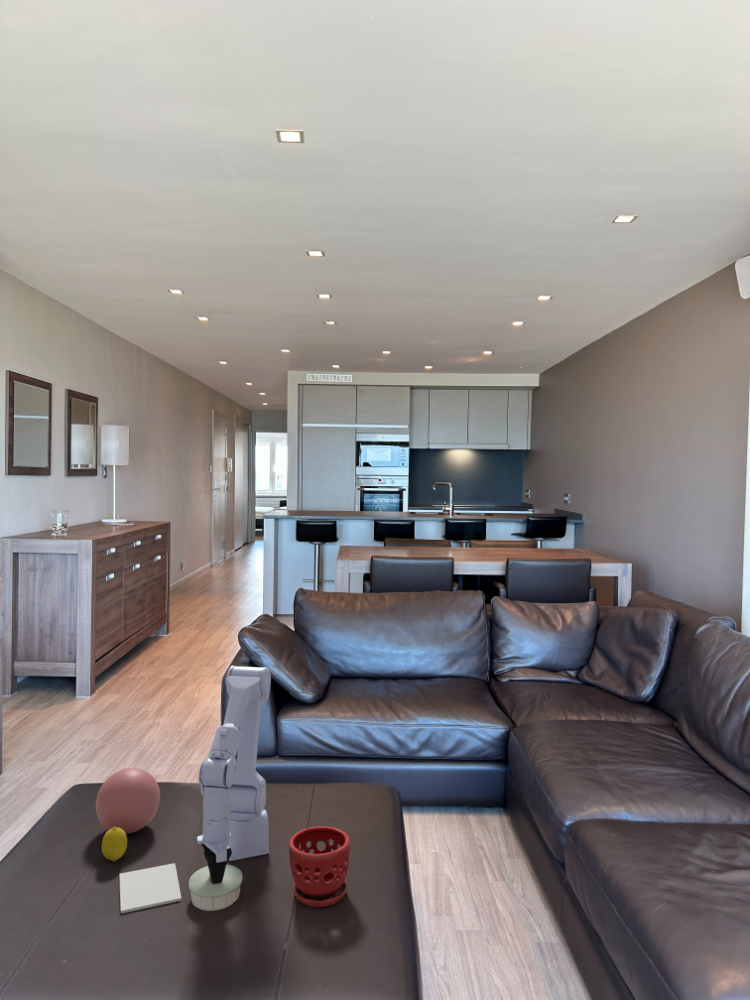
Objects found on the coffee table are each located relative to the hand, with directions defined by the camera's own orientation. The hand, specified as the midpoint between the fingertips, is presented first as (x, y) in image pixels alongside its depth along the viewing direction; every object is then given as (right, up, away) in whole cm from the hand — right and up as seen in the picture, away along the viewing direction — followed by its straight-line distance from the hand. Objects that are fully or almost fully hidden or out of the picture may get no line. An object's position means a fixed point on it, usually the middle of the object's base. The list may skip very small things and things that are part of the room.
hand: (215, 877), depth 141 cm
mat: (-15, -4, +2) cm, 16 cm away
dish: (0, -4, 0) cm, 4 cm away
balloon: (-29, -4, +29) cm, 41 cm away
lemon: (-27, -4, +13) cm, 30 cm away
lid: (0, -1, 0) cm, 1 cm away
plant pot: (+22, -5, +1) cm, 23 cm away
